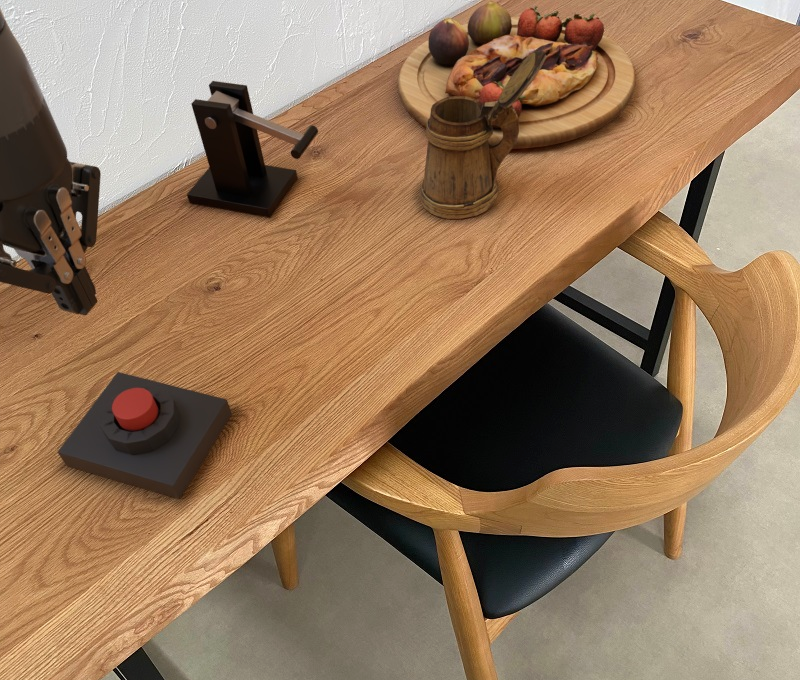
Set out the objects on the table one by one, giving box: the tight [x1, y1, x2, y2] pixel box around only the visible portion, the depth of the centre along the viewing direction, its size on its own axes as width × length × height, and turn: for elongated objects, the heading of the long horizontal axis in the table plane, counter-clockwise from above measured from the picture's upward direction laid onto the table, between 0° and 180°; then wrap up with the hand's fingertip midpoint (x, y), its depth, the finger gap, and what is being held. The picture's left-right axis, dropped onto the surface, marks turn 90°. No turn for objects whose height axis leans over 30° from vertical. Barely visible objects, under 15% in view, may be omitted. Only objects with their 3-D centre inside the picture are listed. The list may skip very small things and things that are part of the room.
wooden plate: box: [396, 0, 637, 149], centre depth 106 cm, size 32×32×8 cm
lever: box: [206, 91, 319, 160], centre depth 89 cm, size 12×5×2 cm, turn 70°
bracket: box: [186, 80, 299, 219], centre depth 93 cm, size 11×8×13 cm
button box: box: [57, 371, 233, 500], centre depth 73 cm, size 12×10×4 cm
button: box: [112, 388, 158, 431], centre depth 71 cm, size 4×4×2 cm
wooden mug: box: [419, 51, 547, 220], centre depth 87 cm, size 9×14×18 cm, turn 79°
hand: (82, 307), depth 63 cm, fingers closed
